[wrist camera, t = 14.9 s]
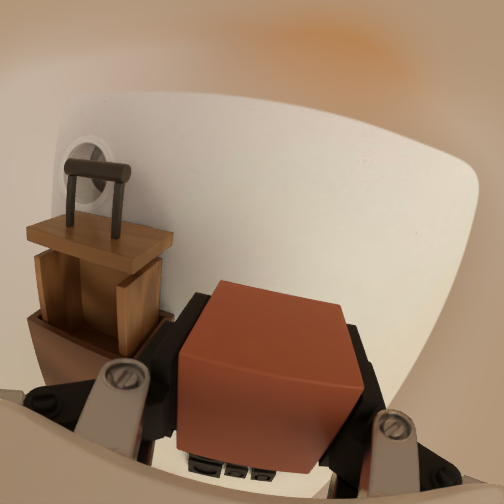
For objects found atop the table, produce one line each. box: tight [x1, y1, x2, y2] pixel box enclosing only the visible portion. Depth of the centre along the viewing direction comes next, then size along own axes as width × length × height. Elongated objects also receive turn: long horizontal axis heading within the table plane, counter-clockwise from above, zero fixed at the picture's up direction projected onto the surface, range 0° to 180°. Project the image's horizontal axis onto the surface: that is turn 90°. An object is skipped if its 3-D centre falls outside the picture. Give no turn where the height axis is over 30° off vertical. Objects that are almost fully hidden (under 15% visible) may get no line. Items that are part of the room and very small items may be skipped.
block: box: [177, 280, 364, 474], centre depth 8 cm, size 4×4×4 cm
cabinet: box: [27, 309, 174, 386], centre depth 27 cm, size 15×13×9 cm
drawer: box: [26, 158, 173, 359], centre depth 23 cm, size 19×11×7 cm, turn 169°
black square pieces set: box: [188, 453, 276, 482], centre depth 37 cm, size 20×25×3 cm
